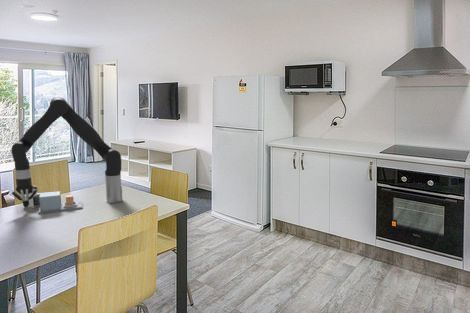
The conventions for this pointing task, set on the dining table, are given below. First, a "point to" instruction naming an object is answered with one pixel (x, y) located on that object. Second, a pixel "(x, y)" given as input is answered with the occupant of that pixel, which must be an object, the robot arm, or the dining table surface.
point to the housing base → (65, 207)
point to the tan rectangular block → (69, 200)
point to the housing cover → (50, 201)
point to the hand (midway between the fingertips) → (26, 206)
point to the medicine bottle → (34, 198)
